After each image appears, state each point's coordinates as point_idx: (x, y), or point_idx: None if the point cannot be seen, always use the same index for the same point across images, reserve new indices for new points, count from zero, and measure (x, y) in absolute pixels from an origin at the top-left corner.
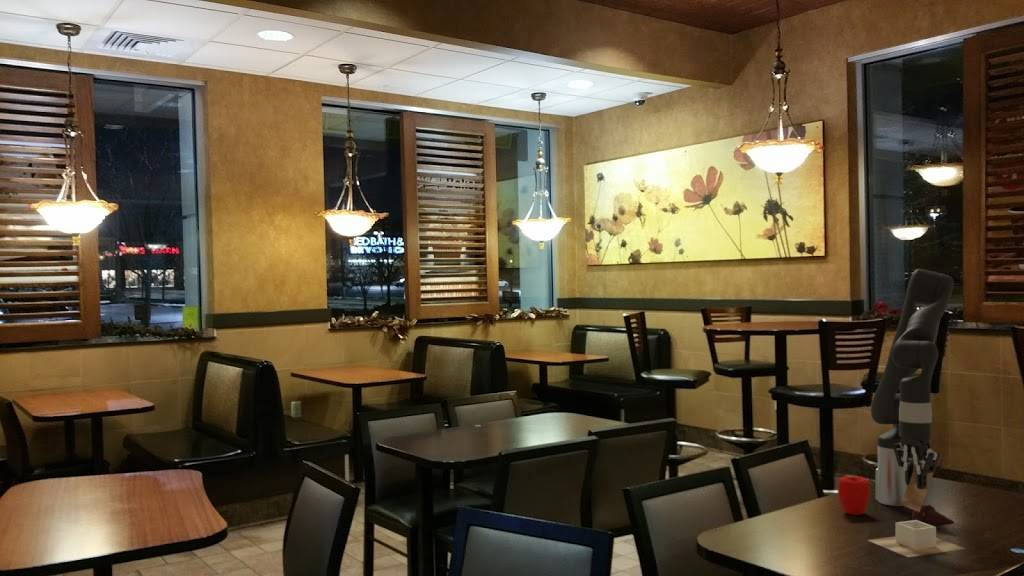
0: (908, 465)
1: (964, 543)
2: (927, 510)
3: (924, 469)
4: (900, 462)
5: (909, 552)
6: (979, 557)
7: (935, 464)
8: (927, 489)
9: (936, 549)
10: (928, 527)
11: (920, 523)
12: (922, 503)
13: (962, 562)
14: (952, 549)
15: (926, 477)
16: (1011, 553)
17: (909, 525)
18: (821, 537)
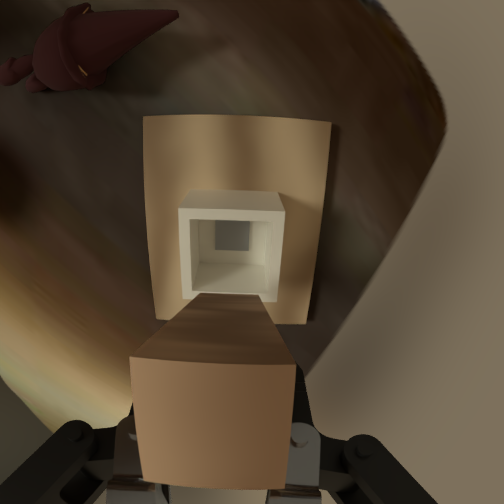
0: (169, 486)
1: (255, 46)
2: (76, 51)
3: (346, 493)
4: (102, 485)
5: (281, 297)
6: (371, 123)
7: (419, 493)
8: (268, 314)
9: (296, 210)
10: (276, 241)
11: (214, 218)
12: (260, 299)
13: (376, 203)
14: (318, 166)
15: (310, 412)
16: (381, 15)
17: (192, 244)
18: (96, 358)
